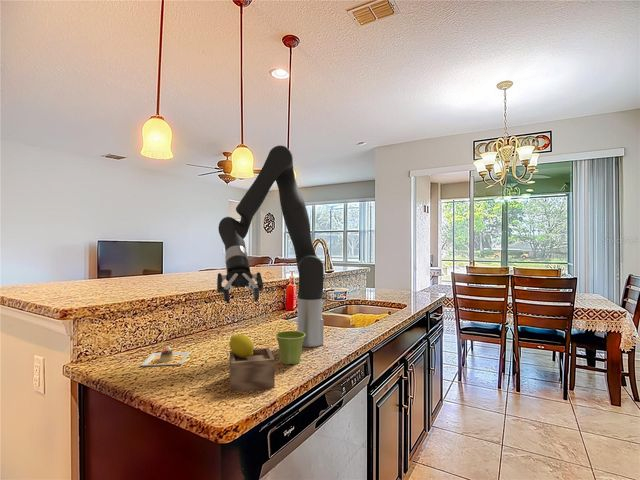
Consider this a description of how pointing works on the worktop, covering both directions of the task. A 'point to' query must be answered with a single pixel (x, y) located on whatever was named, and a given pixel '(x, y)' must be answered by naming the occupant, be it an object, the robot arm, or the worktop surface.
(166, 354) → the white square frame
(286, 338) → the plant pot
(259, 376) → the wooden box
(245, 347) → the lemon
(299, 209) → the robot arm
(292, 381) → the worktop surface
